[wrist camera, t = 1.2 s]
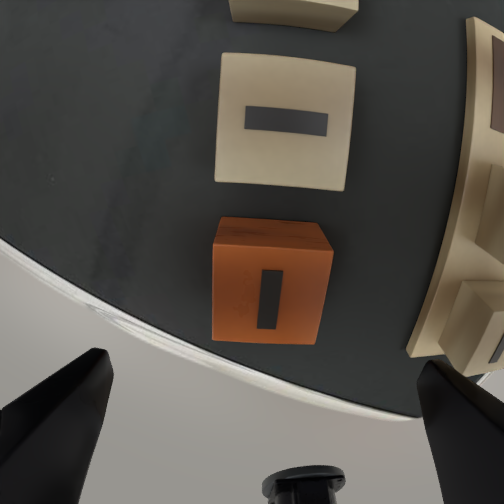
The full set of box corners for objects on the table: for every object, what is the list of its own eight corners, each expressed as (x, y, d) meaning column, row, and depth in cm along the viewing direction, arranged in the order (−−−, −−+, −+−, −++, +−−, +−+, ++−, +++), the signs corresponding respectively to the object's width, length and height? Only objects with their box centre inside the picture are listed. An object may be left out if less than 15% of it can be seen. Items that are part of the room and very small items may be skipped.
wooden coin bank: (304, 303, 15) (315, 346, 12) (218, 299, 14) (211, 342, 12) (317, 222, 13) (335, 252, 10) (220, 215, 13) (212, 244, 10)
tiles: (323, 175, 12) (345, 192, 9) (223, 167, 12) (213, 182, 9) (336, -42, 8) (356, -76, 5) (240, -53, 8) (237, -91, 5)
